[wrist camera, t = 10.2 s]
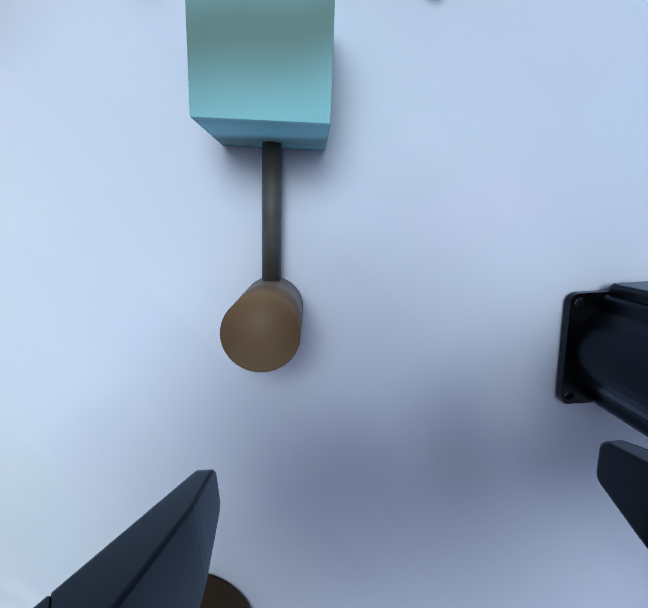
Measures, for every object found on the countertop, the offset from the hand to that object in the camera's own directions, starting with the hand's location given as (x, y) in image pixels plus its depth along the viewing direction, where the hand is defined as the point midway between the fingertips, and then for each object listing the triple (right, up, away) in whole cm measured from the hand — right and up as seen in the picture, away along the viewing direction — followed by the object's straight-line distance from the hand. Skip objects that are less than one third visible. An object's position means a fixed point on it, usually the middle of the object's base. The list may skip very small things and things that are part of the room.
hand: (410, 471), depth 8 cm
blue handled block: (-4, +9, +10) cm, 14 cm away
